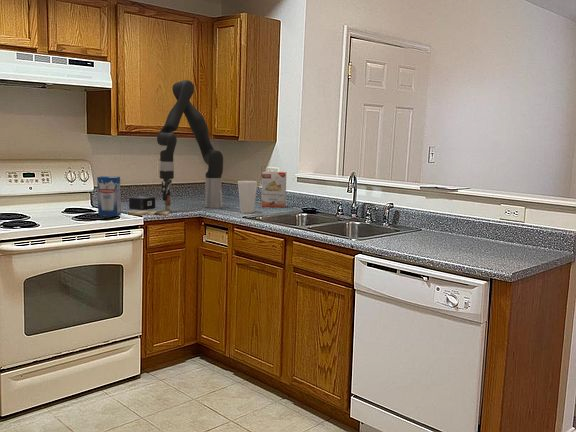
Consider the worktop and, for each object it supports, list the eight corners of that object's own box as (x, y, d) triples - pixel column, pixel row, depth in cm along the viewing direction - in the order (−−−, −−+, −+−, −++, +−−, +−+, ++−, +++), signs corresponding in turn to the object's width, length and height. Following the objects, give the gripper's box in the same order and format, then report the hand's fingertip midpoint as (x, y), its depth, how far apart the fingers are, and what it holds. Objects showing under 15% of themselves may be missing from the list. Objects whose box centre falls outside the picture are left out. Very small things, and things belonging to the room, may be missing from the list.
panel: (169, 213, 326) (169, 211, 326) (166, 215, 317) (166, 213, 317) (132, 212, 326) (132, 210, 326) (128, 214, 317) (128, 212, 317)
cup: (249, 210, 343) (249, 180, 340) (260, 212, 335) (261, 181, 333) (233, 212, 335) (233, 181, 333) (244, 214, 328) (245, 182, 325)
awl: (170, 211, 332) (170, 195, 330) (169, 212, 329) (169, 196, 327) (165, 211, 332) (165, 195, 330) (164, 212, 329) (164, 195, 327)
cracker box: (261, 207, 359) (261, 171, 356) (262, 205, 365) (263, 171, 362) (284, 207, 357) (285, 172, 354) (285, 206, 363) (286, 171, 360)
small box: (143, 198, 336) (128, 197, 340) (143, 209, 337) (128, 209, 341) (155, 196, 345) (140, 195, 350) (155, 208, 346) (141, 207, 351)
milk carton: (121, 214, 317) (120, 176, 314) (117, 216, 310) (116, 177, 308) (102, 214, 317) (101, 176, 314) (98, 216, 311) (97, 177, 308)
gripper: (162, 168, 334) (162, 198, 336) (156, 170, 320) (156, 200, 322) (176, 169, 334) (176, 198, 336) (170, 170, 320) (170, 201, 322)
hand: (166, 199), depth 329 cm, fingers open, 8 cm apart
